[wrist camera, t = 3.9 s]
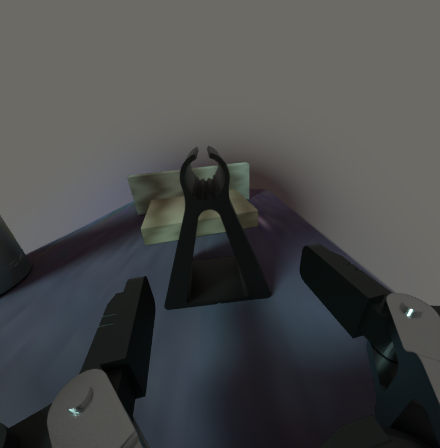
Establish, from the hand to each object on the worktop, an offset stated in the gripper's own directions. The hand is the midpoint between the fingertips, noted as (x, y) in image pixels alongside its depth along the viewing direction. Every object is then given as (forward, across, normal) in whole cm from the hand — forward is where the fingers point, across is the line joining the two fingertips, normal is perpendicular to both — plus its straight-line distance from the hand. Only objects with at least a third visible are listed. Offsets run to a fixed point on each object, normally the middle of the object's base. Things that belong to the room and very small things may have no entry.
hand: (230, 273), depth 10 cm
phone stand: (+7, 0, +7) cm, 10 cm away
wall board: (+22, 0, +7) cm, 23 cm away
